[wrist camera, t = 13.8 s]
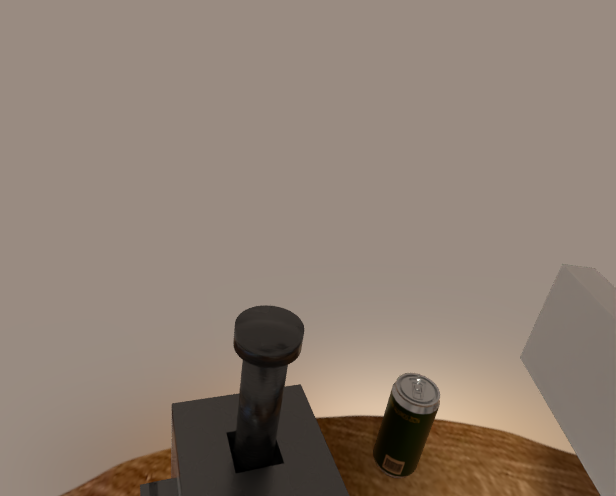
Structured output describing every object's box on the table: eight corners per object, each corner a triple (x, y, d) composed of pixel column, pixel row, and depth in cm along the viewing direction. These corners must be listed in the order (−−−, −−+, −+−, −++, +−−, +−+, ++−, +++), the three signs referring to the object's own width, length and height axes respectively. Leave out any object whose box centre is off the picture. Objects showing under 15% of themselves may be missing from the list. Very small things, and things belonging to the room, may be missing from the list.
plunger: (270, 517, 47) (308, 287, 34) (293, 604, 40) (352, 360, 28) (188, 537, 44) (197, 295, 31) (200, 635, 38) (217, 379, 25)
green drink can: (415, 486, 54) (443, 413, 49) (370, 473, 55) (392, 399, 49) (415, 448, 59) (441, 378, 53) (373, 437, 60) (394, 366, 54)
